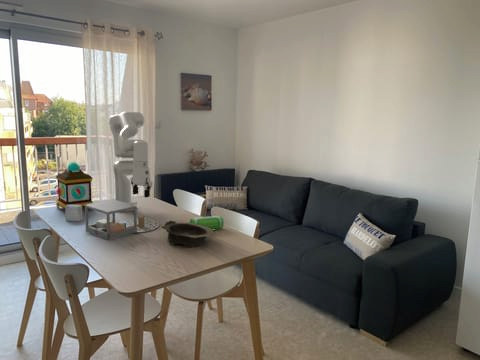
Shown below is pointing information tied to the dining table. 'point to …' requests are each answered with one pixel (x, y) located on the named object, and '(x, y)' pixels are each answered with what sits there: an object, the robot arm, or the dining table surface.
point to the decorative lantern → (73, 187)
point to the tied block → (119, 226)
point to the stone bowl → (186, 233)
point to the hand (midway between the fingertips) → (141, 195)
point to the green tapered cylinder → (209, 221)
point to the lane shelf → (107, 209)
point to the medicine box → (73, 212)
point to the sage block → (102, 223)
